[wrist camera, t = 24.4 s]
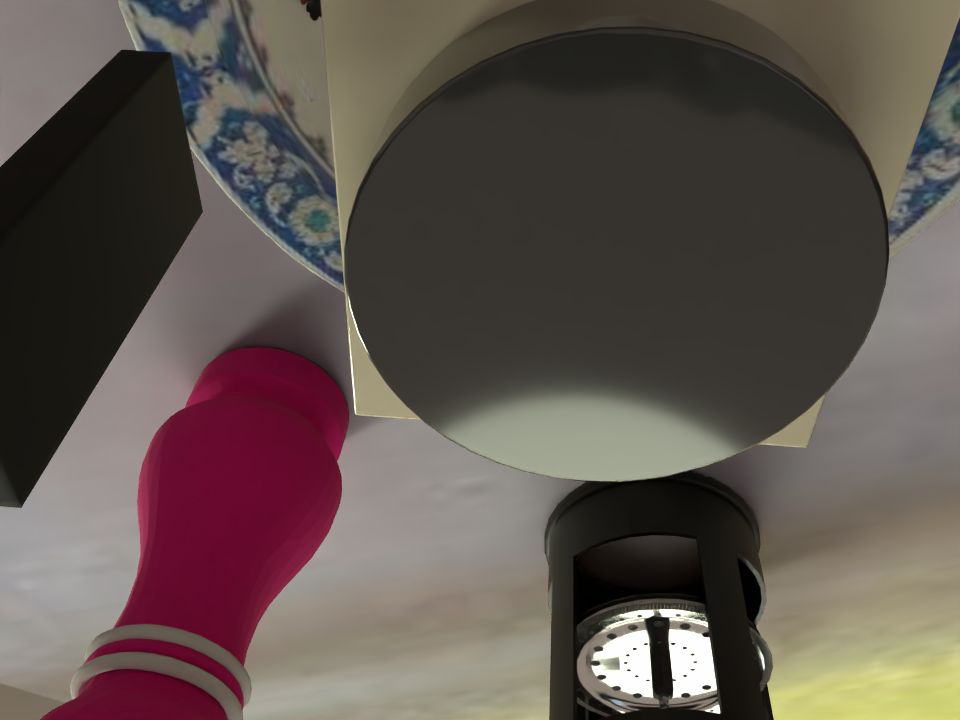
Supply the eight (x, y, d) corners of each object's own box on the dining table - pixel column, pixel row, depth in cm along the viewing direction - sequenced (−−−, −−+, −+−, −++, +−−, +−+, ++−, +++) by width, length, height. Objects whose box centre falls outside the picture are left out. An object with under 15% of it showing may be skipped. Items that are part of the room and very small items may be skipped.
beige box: (449, -57, 26) (362, -748, 11) (727, -44, 26) (1024, -739, 11) (406, 461, 24) (240, 464, 9) (703, 482, 24) (1012, 522, 9)
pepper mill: (359, 343, 34) (182, 927, 19) (364, 474, 39) (226, 1033, 23) (172, 326, 34) (-157, 891, 19) (199, 459, 39) (-48, 1003, 23)
